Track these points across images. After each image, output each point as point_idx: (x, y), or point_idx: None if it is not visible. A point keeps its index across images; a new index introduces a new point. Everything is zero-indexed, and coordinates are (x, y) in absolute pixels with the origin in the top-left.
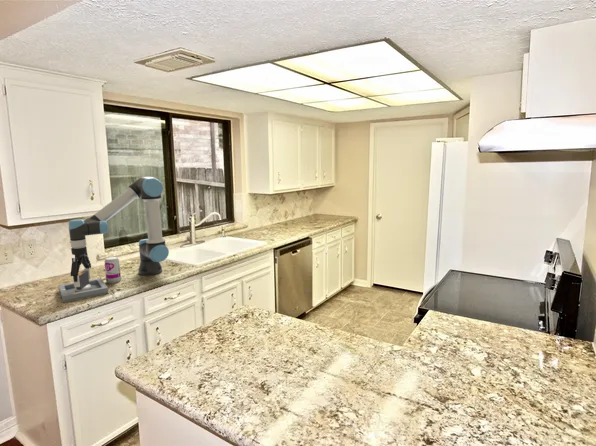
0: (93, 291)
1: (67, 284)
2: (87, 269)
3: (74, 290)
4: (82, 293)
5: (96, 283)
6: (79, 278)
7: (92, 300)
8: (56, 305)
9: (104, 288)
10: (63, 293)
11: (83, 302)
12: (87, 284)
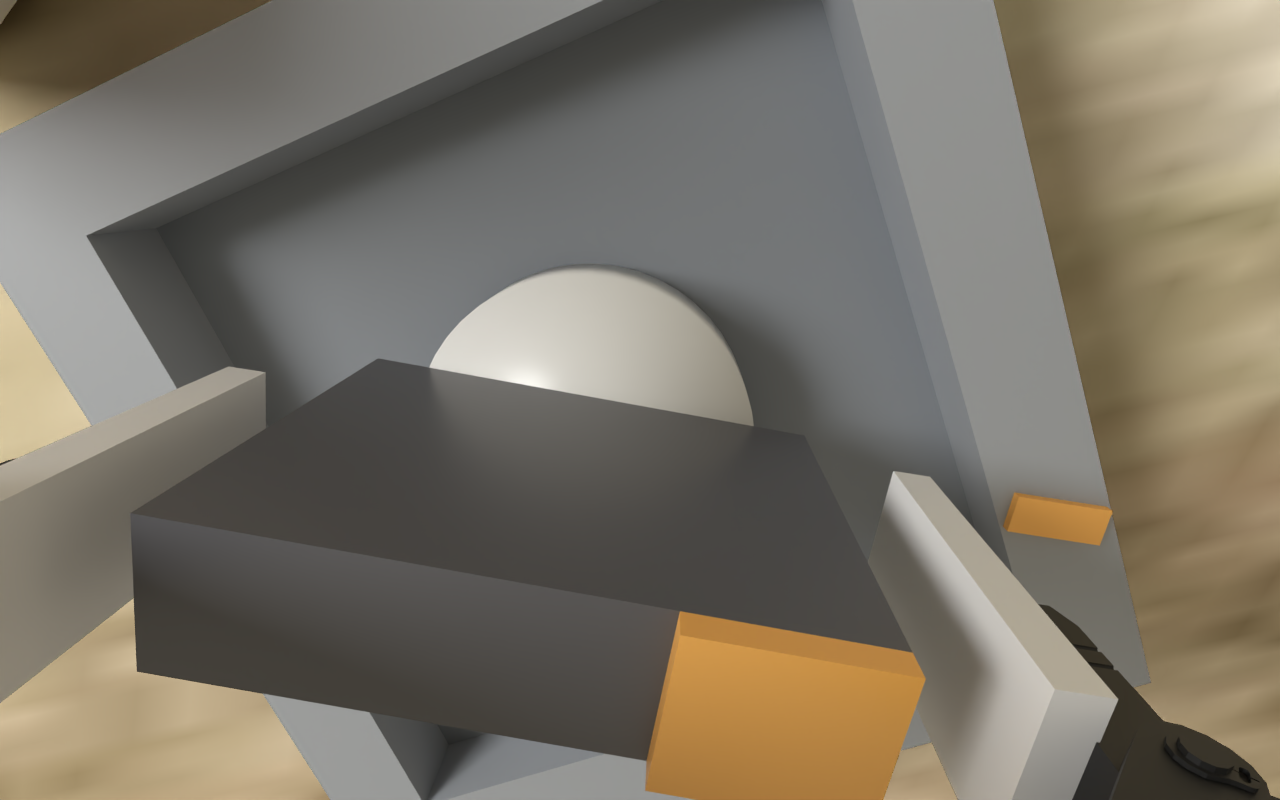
0: (1006, 106)
1: (358, 769)
2: (7, 559)
3: None
4: (1062, 342)
5: (163, 246)
6: (874, 598)
7: (1223, 84)
8: (1178, 665)
9: None
10: None
11: (1260, 249)
12: (465, 377)
